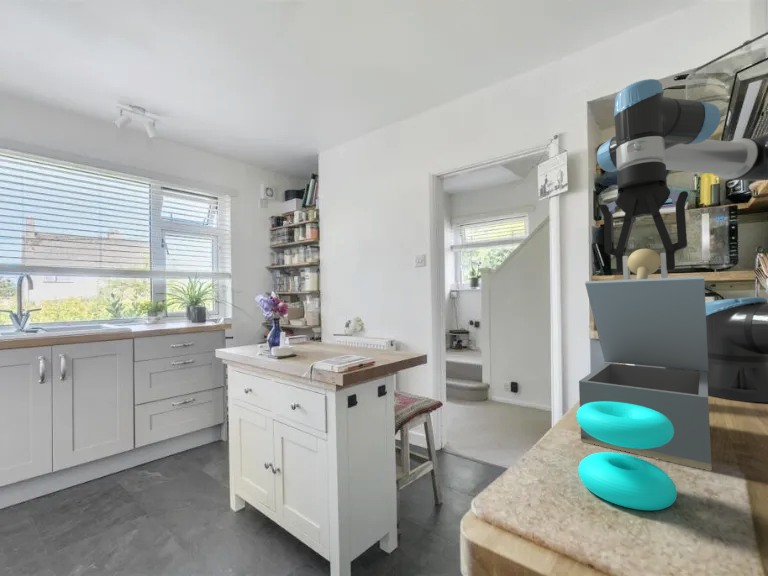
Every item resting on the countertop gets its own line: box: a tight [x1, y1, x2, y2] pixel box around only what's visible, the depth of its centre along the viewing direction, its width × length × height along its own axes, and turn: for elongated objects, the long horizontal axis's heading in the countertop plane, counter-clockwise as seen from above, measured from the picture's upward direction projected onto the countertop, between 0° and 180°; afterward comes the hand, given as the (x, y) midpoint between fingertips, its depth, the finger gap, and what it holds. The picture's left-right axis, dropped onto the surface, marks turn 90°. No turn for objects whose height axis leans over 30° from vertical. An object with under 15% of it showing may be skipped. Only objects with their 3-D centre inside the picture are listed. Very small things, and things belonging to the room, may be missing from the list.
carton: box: [578, 362, 713, 471], centre depth 62 cm, size 22×16×10 cm
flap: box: [584, 248, 708, 371], centre depth 68 cm, size 22×16×10 cm
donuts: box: [576, 401, 678, 511], centre depth 44 cm, size 10×10×10 cm
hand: (645, 289), depth 66 cm, fingers closed on flap, 5 cm apart
